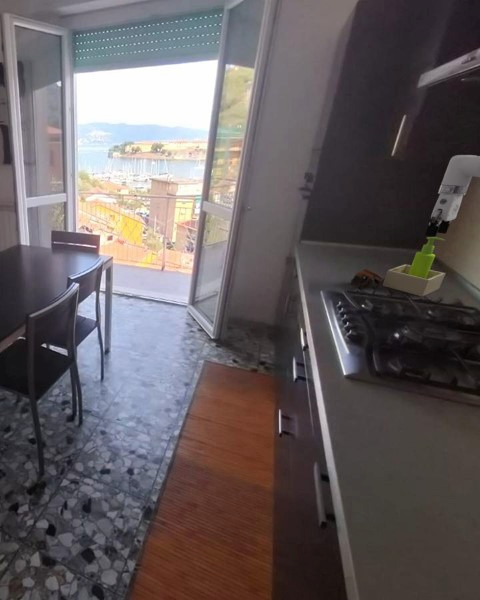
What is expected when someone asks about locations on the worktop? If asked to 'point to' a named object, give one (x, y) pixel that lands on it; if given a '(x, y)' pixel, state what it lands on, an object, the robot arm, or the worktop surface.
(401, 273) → the open rectangular box
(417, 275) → the soap dispenser
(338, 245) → the worktop surface
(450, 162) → the robot arm
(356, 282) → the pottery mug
